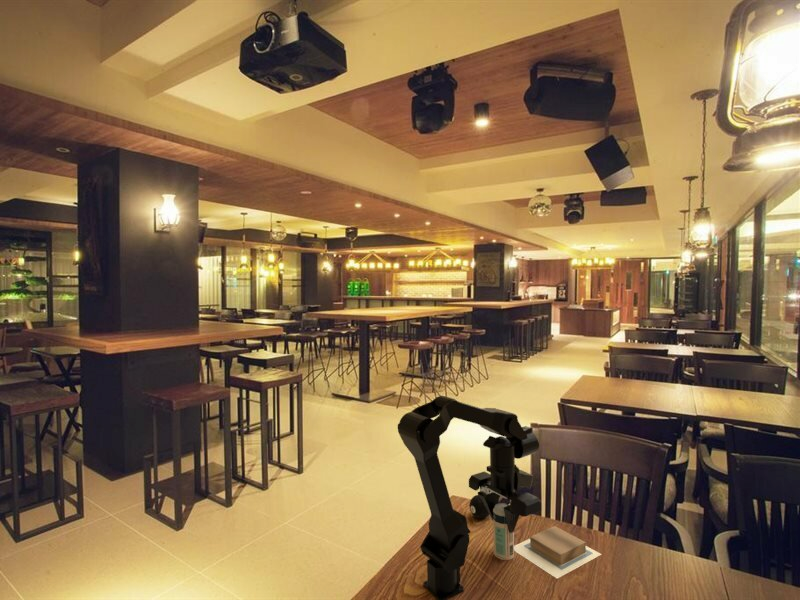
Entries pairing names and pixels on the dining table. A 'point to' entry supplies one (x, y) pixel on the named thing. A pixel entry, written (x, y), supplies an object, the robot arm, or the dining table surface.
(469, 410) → the robot arm
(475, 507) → the billiard ball
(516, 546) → the white flat square slab
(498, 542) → the beer can
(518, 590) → the dining table surface
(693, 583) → the dining table surface
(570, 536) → the base block
